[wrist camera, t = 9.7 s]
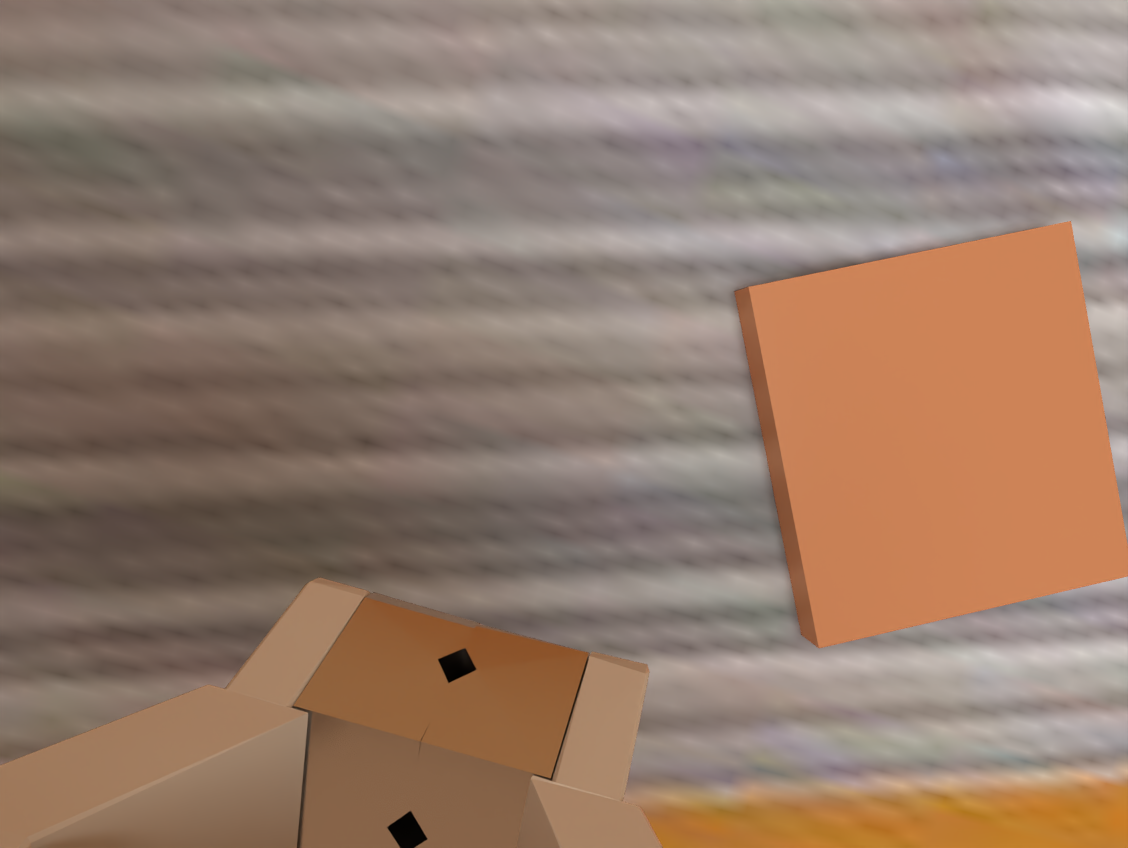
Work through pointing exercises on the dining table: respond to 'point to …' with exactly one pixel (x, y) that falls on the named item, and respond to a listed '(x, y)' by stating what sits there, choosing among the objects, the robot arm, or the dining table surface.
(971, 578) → the tile
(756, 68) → the dining table surface
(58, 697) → the dining table surface
